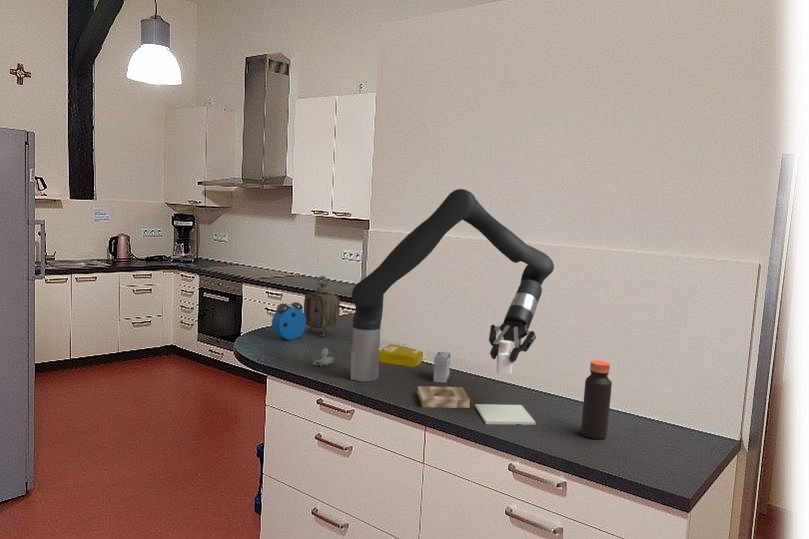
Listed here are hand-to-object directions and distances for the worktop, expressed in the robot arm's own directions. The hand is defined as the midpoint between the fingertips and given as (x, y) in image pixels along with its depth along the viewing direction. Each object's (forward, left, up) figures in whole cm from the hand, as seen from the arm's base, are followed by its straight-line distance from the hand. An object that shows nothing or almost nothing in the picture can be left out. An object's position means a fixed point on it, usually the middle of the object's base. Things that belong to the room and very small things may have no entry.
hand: (501, 359), depth 181 cm
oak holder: (-14, +12, -17) cm, 25 cm away
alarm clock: (-66, +86, -17) cm, 110 cm away
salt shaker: (+1, +2, -5) cm, 5 cm away
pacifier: (-51, +50, -17) cm, 73 cm away
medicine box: (-11, +34, -17) cm, 40 cm away
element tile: (-22, +58, -17) cm, 65 cm away
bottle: (+23, -14, -17) cm, 32 cm away
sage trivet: (+2, 0, -17) cm, 17 cm away
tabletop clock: (-53, +96, -17) cm, 111 cm away
